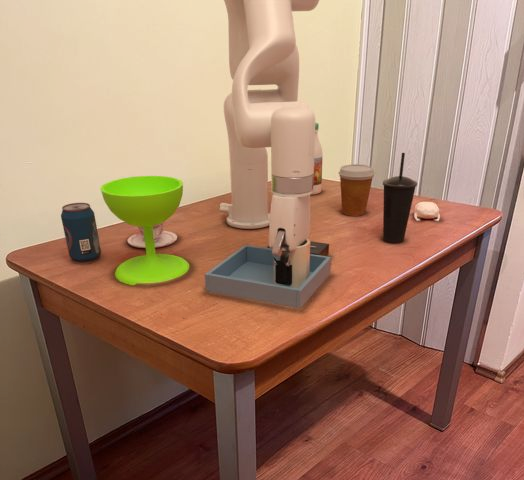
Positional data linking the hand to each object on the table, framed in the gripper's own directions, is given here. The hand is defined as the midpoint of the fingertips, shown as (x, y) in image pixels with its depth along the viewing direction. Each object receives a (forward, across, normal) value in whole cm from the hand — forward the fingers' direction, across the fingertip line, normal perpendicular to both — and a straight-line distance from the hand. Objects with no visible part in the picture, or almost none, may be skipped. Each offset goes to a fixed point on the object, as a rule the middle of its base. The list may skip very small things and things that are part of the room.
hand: (291, 275), depth 105 cm
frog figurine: (+3, -56, +16) cm, 58 cm away
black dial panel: (+3, -16, -4) cm, 16 cm away
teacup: (+3, -13, -42) cm, 44 cm away
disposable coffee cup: (+3, -53, -2) cm, 53 cm away
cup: (+2, 0, 0) cm, 2 cm away
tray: (+3, 0, -4) cm, 5 cm away
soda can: (+3, +3, -48) cm, 49 cm away
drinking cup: (+3, -35, +12) cm, 37 cm away
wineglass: (+3, +3, -30) cm, 31 cm away
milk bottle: (+3, -69, -22) cm, 72 cm away
